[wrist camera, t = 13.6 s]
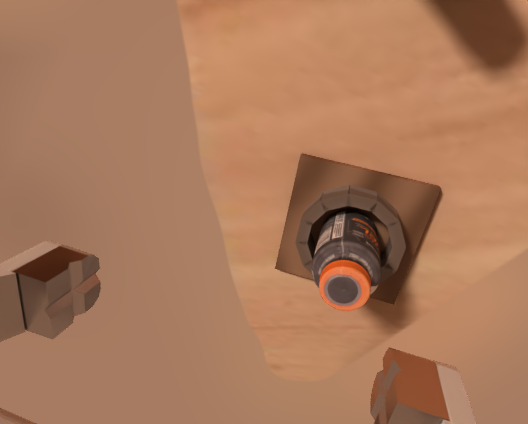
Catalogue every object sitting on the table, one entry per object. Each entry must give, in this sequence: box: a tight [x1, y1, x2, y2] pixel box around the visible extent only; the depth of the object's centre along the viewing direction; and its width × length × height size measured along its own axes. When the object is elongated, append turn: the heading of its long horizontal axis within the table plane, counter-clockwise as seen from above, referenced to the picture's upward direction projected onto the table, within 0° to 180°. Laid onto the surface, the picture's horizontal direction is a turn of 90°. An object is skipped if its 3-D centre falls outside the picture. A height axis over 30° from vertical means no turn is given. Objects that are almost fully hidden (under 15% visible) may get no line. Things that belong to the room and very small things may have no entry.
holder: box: [275, 154, 441, 304], centre depth 36 cm, size 14×14×4 cm
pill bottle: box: [312, 209, 382, 311], centre depth 32 cm, size 6×6×11 cm
